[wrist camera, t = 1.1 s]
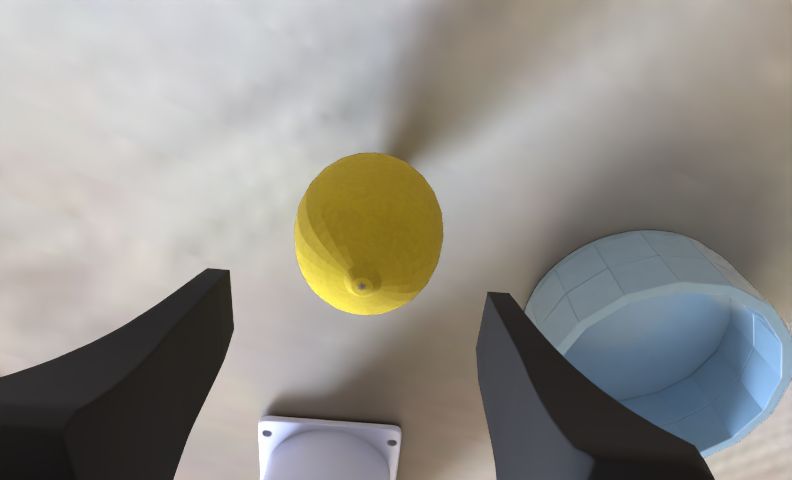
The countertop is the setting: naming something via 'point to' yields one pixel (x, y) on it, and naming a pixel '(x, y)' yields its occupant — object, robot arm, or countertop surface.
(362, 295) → the lemon
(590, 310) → the pan
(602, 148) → the countertop surface
